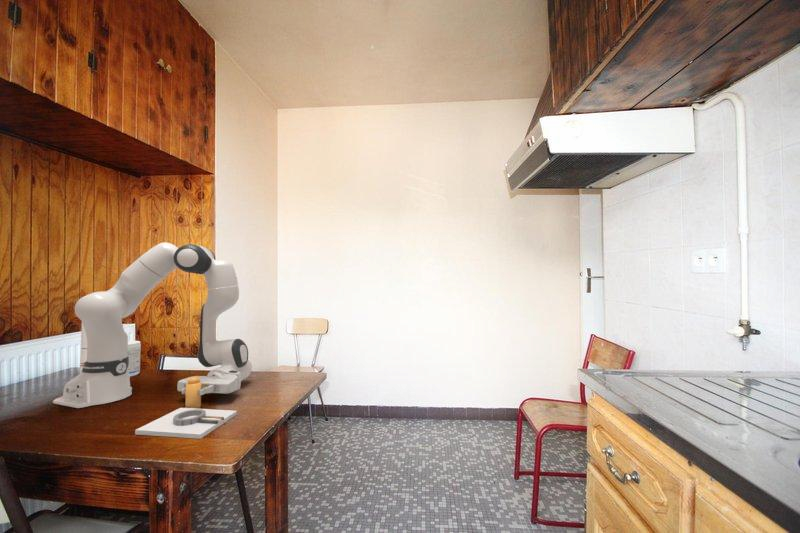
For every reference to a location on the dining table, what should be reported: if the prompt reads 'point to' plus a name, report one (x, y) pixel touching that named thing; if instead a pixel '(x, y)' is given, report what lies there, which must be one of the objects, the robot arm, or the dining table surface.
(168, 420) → the plate
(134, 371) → the supplement tub
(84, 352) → the cylindrical container
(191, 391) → the tan capped bottle
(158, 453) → the dining table surface
